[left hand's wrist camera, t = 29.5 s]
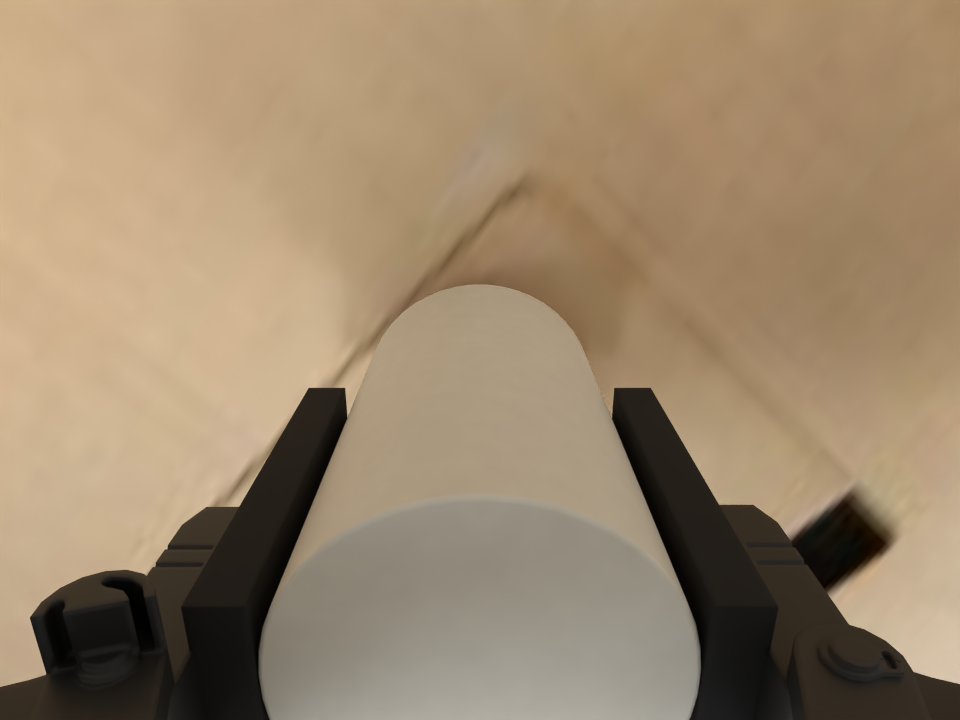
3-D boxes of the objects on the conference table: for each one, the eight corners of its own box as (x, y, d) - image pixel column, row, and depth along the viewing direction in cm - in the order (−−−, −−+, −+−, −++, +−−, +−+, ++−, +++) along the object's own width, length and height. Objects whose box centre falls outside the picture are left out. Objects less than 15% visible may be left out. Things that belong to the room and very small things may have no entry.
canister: (532, 242, 16) (596, 418, 7) (624, 434, 18) (763, 758, 9) (326, 344, 17) (165, 608, 8) (434, 517, 19) (394, 883, 10)
